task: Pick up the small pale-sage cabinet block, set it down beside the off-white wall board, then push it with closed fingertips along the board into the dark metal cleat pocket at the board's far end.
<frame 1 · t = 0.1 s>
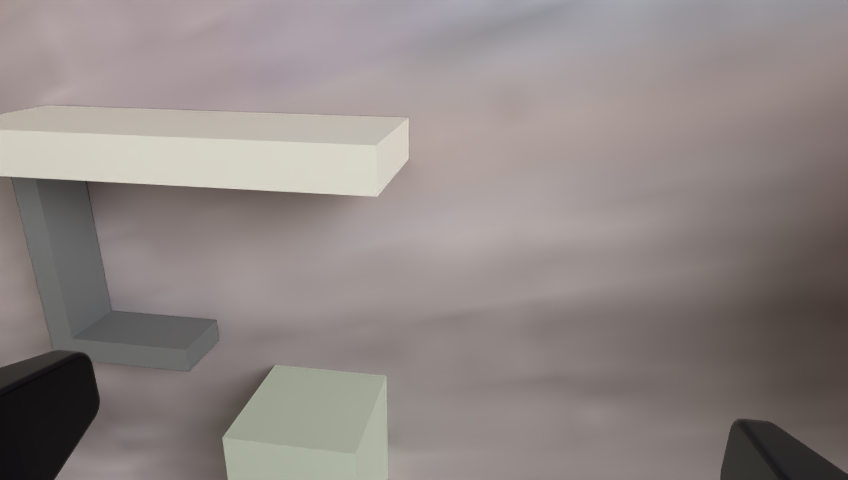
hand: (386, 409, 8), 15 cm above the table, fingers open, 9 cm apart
cabinet block: (333, 421, 27), on the table
cleat board: (222, 131, 23), on the table
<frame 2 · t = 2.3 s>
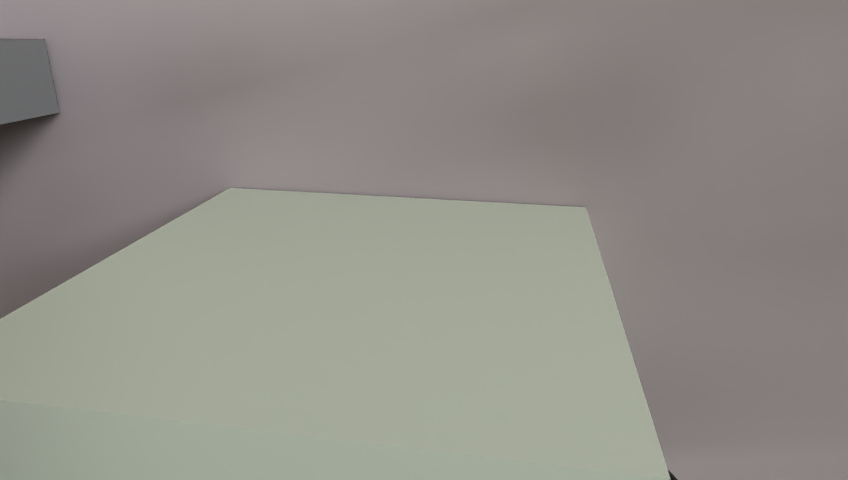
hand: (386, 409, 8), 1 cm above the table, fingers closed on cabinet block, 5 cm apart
cabinet block: (400, 368, 9), on the table, touching gripper
when the fingers open (2 cm above the table, at t = 5.9 s): cabinet block drops 2 cm, on the table.
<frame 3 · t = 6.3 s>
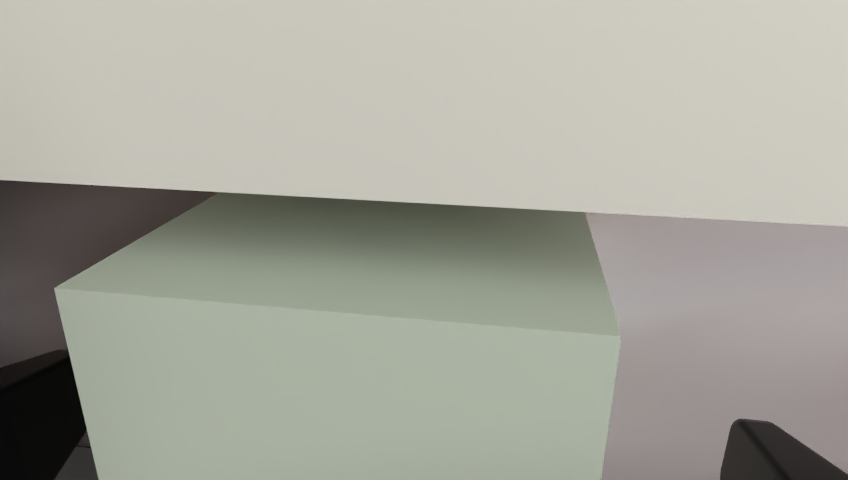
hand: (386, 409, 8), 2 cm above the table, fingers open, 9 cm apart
cabinet block: (415, 319, 11), on the table
cleat board: (245, 52, 9), on the table
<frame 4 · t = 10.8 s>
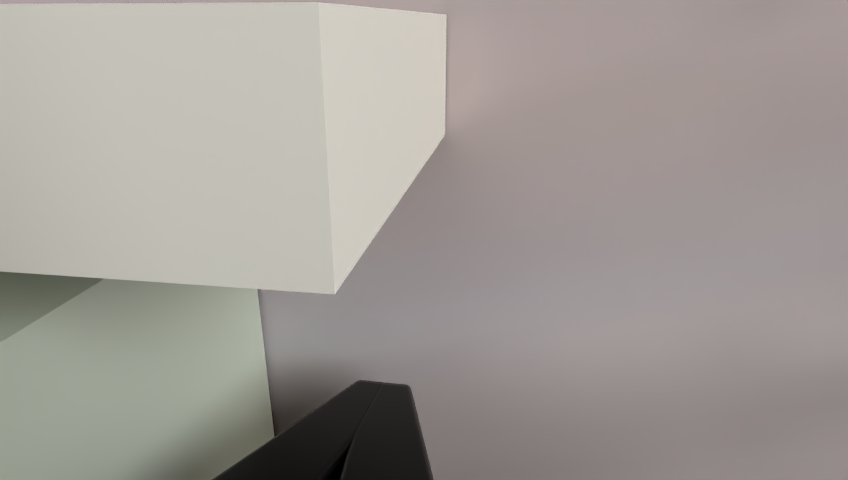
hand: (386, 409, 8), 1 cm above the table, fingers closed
cabinet block: (124, 345, 10), on the table, touching gripper
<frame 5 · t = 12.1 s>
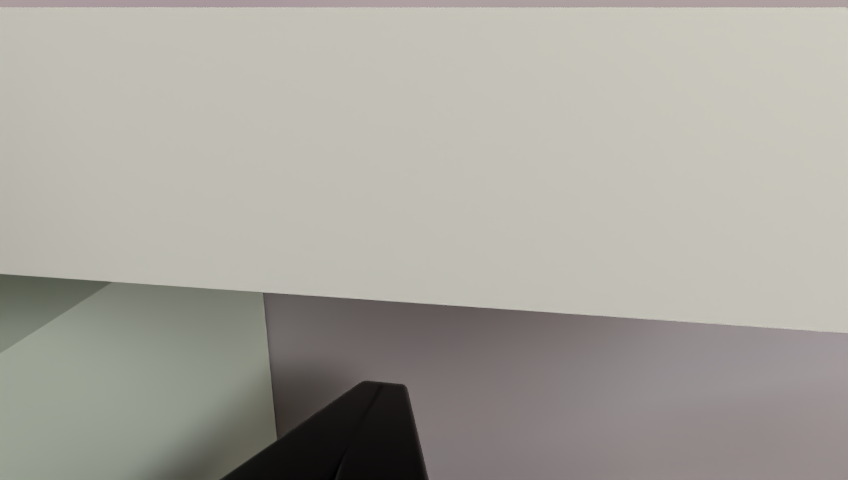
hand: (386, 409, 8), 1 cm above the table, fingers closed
cabinet block: (126, 344, 10), on the table, touching cleat board, gripper
cleat board: (329, 77, 8), on the table
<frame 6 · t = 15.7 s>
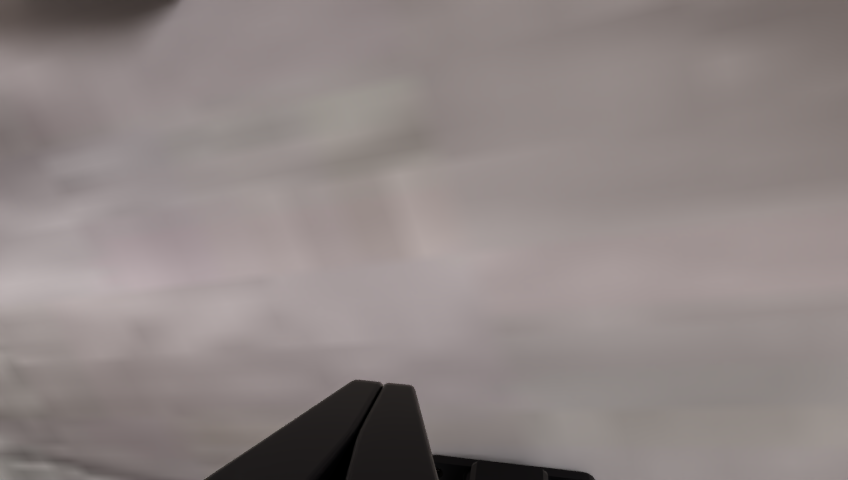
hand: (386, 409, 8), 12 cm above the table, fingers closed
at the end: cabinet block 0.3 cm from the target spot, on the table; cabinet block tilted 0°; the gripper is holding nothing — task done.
